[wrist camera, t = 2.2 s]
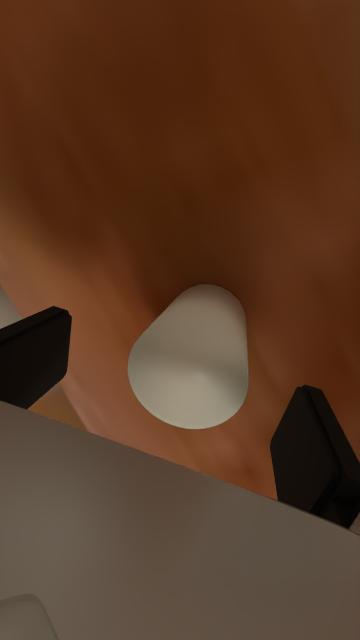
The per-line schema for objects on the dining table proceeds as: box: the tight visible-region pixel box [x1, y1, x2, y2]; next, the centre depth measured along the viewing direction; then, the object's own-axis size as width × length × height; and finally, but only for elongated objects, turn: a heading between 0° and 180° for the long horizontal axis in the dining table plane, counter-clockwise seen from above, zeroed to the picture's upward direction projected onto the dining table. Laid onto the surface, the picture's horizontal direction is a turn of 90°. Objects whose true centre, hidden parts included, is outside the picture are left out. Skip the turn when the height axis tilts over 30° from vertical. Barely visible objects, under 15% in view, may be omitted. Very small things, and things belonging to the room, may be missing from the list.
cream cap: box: [128, 284, 249, 429], centre depth 14 cm, size 5×5×7 cm
